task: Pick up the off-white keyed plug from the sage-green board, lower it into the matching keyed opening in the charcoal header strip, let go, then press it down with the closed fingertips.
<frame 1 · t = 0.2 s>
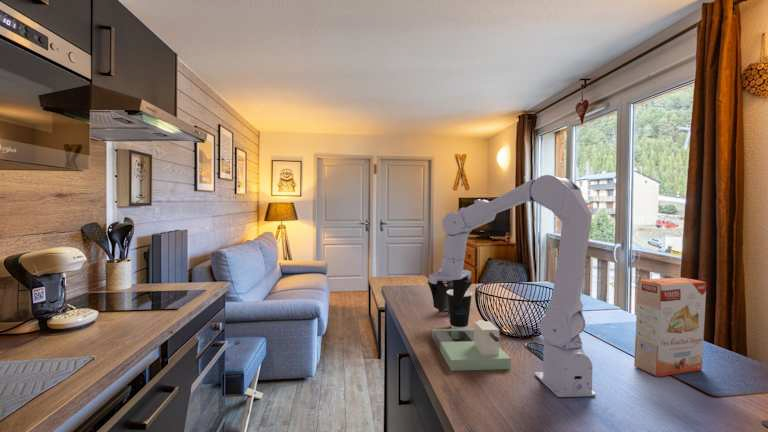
hand: (447, 306, 94), 10 cm above the counter, tool pointing down, fingers open, 7 cm apart
dixie cup: (458, 328, 108), on the counter
board: (467, 351, 90), on the counter
door stopper: (453, 311, 125), on the counter
plug: (486, 349, 85), point 2 cm above the counter, touching board
cracker box: (668, 370, 81), on the counter
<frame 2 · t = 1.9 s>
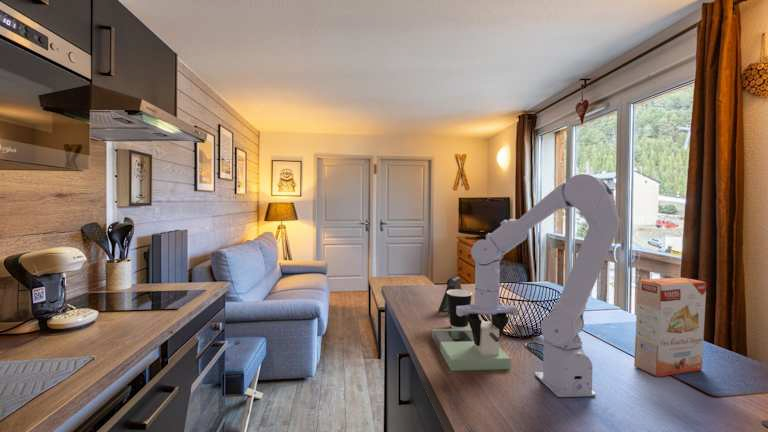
hand: (486, 344, 85), 4 cm above the counter, tool pointing down, fingers closed on plug, 4 cm apart
plug: (486, 349, 85), point 2 cm above the counter, touching board, gripper
everything else where it was.
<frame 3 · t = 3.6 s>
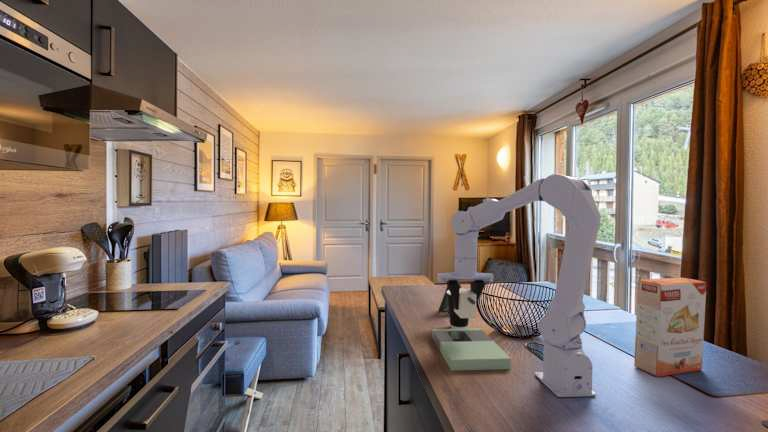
hand: (464, 308, 92), 11 cm above the counter, tool pointing down, fingers closed on plug, 4 cm apart
plug: (464, 314, 92), point 9 cm above the counter, touching gripper
everything else where it was.
when the fingers open (3 cm above the counter, at t = 5.6 s): plug drops 1 cm, resting in board.
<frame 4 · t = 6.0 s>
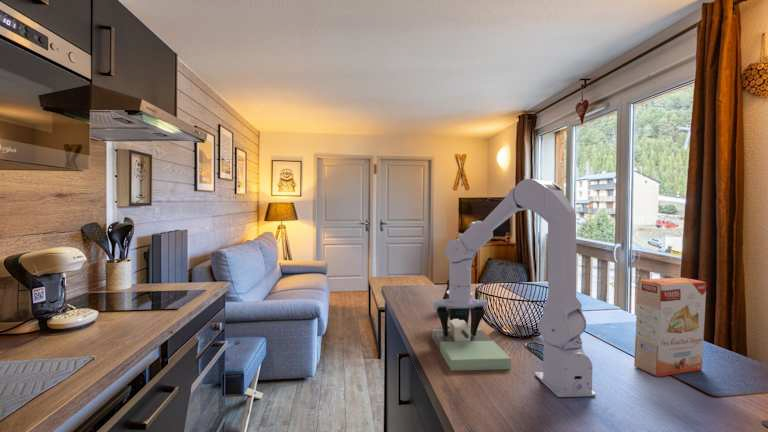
hand: (459, 334, 94), 3 cm above the counter, tool pointing down, fingers open, 7 cm apart
plug: (459, 345, 94), resting in board
everything else where it was.
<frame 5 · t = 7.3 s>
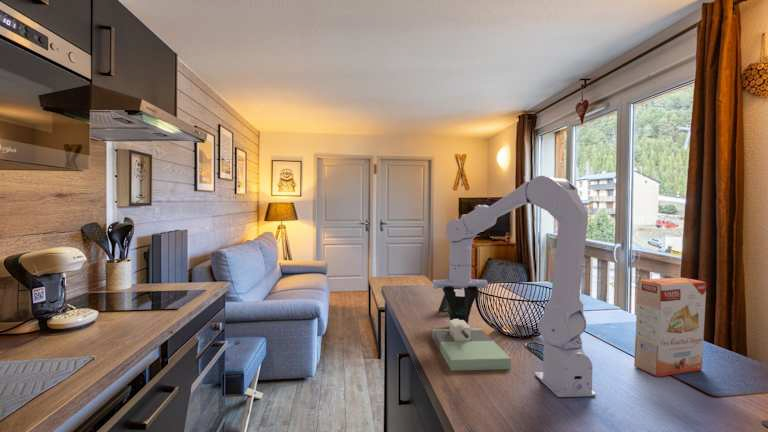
hand: (459, 314, 93), 8 cm above the counter, tool pointing down, fingers open, 3 cm apart
nothing on the counter moved.
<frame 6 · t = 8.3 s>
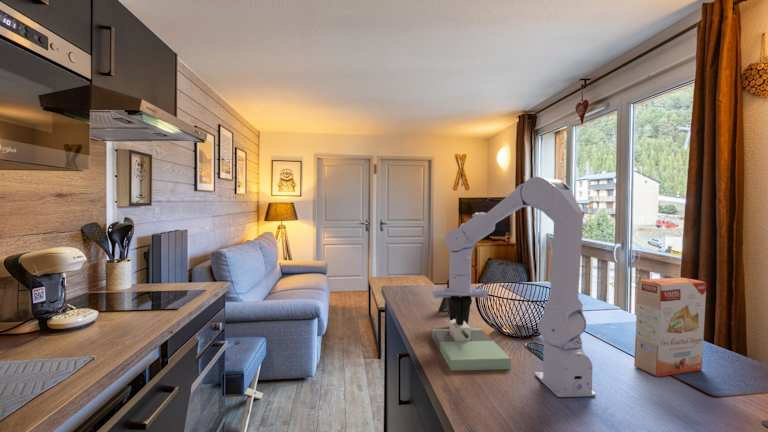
hand: (459, 324, 94), 6 cm above the counter, tool pointing down, fingers closed, pressing on plug
plug: (459, 345, 94), resting in board, touching gripper
everything else where it was.
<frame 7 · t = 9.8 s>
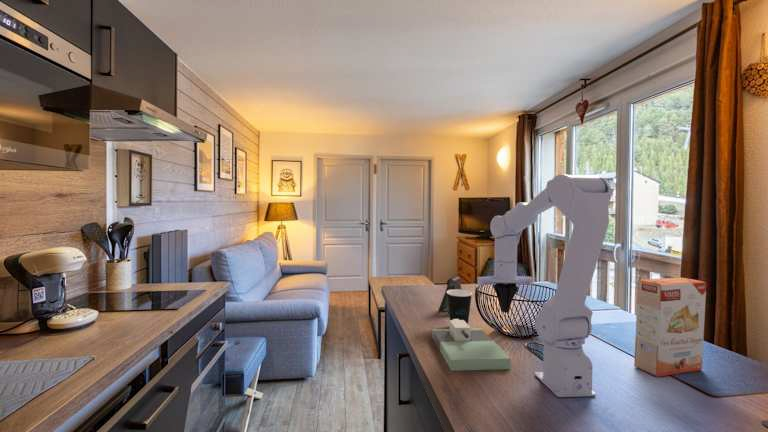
hand: (504, 311, 93), 9 cm above the counter, tool pointing down, fingers closed
plug: (459, 345, 94), resting in board
everything else where it was.
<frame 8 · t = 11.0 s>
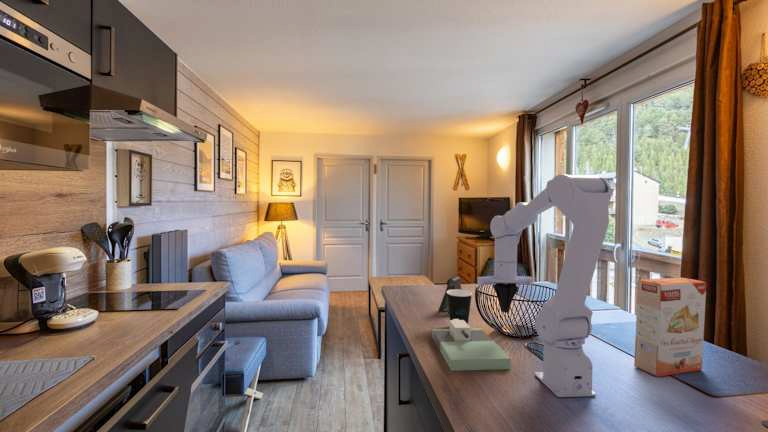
hand: (504, 311, 93), 9 cm above the counter, tool pointing down, fingers closed
nothing on the counter moved.
at the end: plug 0.1 cm from the target spot on the board, point 0.0 cm above the board's base; plug tilted 0°; the gripper is holding nothing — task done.
